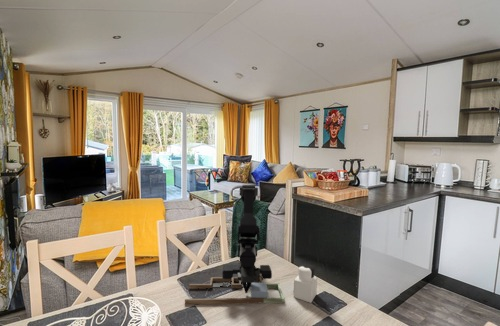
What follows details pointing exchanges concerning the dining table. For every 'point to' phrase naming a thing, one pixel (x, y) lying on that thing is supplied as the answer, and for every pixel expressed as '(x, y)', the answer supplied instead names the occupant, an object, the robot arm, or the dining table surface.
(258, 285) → the block
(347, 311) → the dining table surface
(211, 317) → the dining table surface
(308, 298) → the medicine bottle
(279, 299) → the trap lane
